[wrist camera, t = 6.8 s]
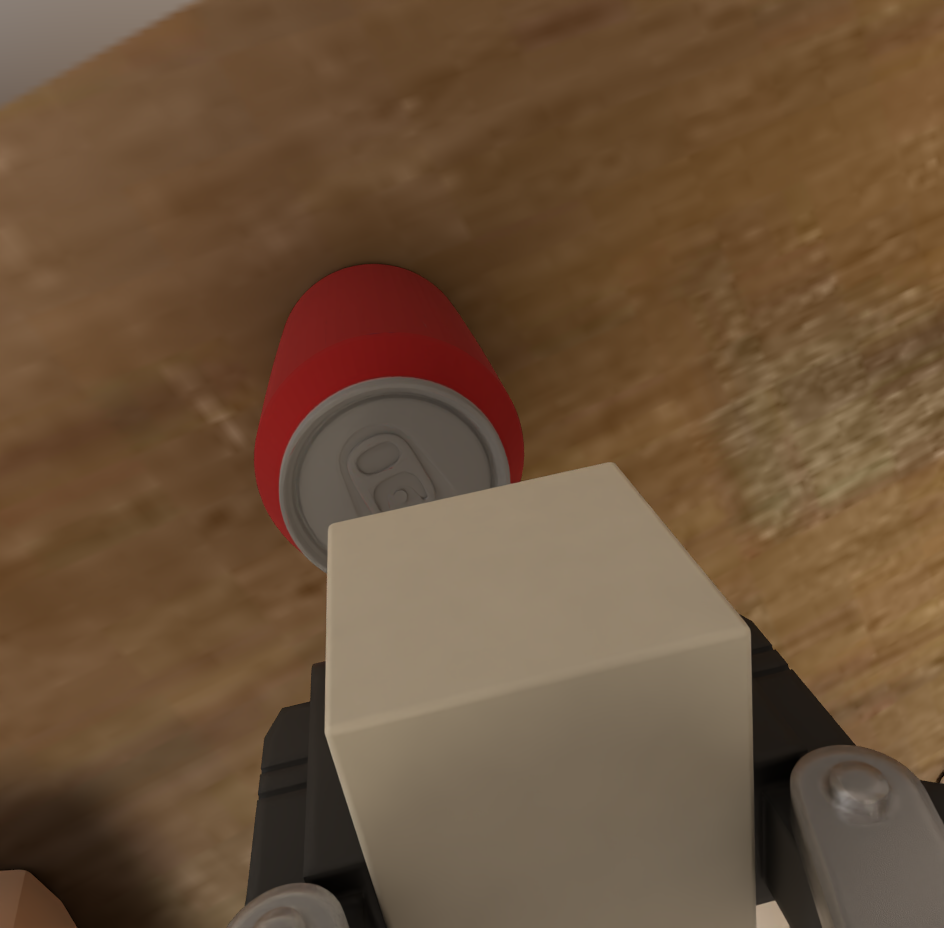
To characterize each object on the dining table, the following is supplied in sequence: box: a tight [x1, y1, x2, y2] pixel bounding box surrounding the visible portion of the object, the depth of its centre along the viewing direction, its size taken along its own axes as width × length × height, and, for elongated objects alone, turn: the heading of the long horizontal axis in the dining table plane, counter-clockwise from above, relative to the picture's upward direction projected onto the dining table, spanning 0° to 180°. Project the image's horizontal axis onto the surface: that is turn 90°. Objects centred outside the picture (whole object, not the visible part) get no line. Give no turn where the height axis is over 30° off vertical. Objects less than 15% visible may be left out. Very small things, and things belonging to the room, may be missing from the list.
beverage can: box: [254, 264, 524, 573], centre depth 24 cm, size 7×7×12 cm
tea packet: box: [325, 462, 757, 928], centre depth 10 cm, size 6×4×4 cm, turn 9°
